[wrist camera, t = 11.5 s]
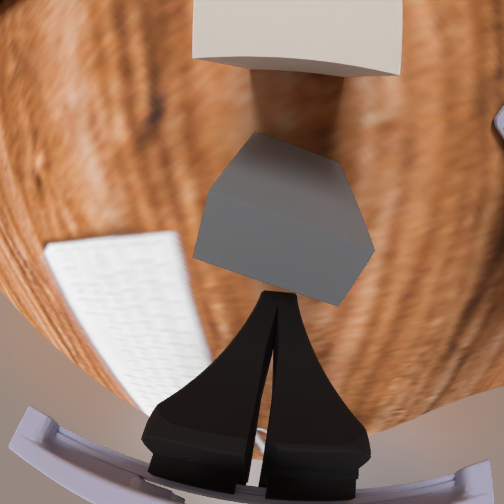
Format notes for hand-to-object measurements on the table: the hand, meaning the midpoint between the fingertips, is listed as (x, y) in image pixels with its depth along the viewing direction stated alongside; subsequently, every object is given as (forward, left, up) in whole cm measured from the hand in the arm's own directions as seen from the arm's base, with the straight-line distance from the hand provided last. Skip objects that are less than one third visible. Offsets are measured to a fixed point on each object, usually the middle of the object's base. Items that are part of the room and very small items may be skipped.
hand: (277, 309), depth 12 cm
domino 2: (+2, -3, -7) cm, 8 cm away
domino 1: (+5, -9, -7) cm, 13 cm away
